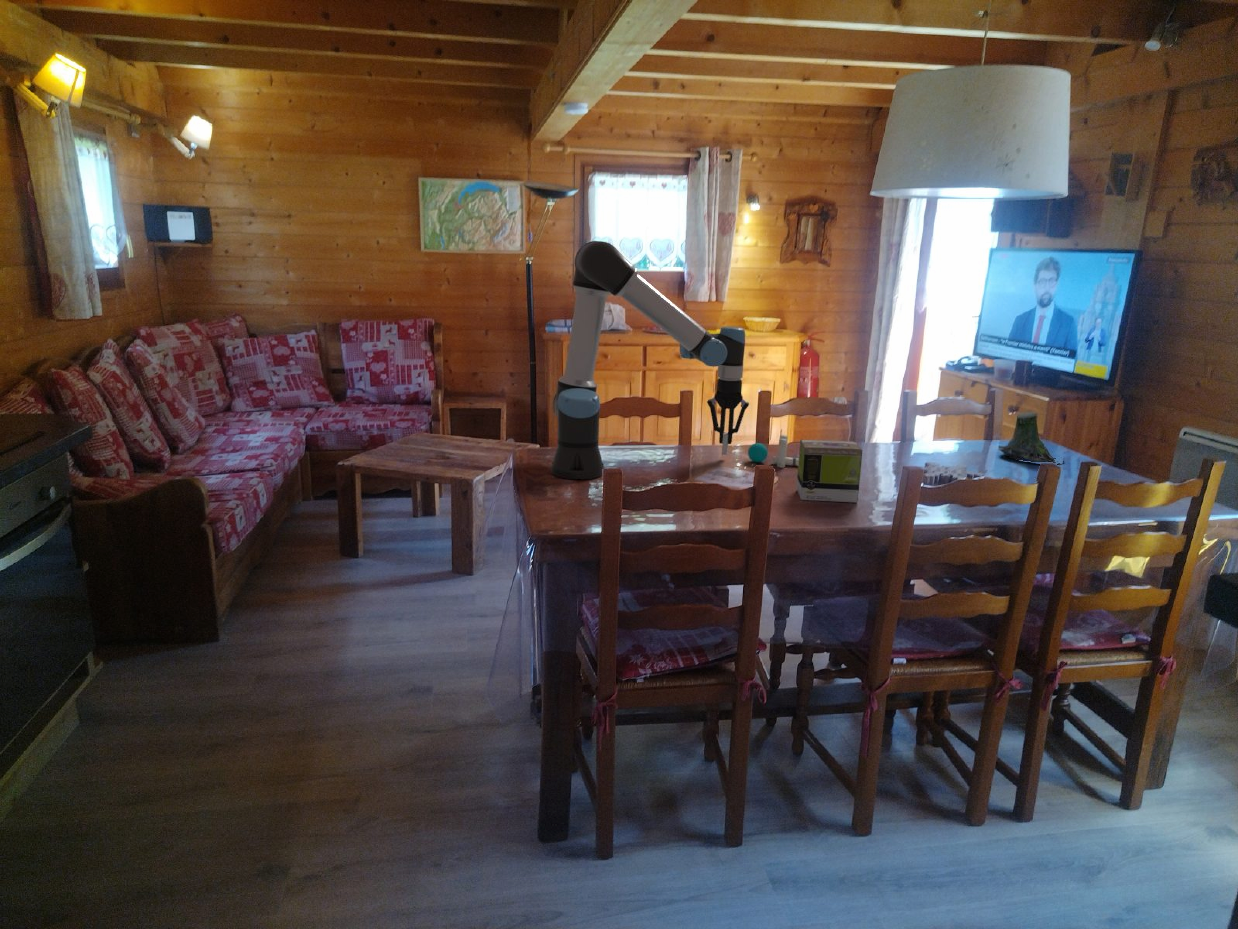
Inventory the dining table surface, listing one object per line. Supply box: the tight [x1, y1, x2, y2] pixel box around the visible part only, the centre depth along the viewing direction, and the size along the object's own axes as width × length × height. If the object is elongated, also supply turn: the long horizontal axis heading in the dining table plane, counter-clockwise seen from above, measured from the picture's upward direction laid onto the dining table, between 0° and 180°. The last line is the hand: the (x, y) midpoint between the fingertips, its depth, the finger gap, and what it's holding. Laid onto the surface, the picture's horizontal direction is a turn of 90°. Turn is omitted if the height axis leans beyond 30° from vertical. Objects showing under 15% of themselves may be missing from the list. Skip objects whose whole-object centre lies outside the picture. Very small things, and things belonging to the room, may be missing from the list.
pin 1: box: [779, 434, 789, 453], centre depth 250 cm, size 2×2×8 cm
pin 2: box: [776, 438, 788, 469], centre depth 245 cm, size 2×2×8 cm
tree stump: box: [998, 411, 1061, 465], centre depth 265 cm, size 18×20×18 cm
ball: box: [747, 442, 768, 463], centre depth 250 cm, size 6×6×6 cm
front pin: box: [772, 455, 799, 467], centre depth 248 cm, size 2×2×8 cm
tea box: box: [796, 439, 863, 504], centre depth 216 cm, size 15×10×15 cm, turn 84°
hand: (724, 453), depth 252 cm, fingers closed
